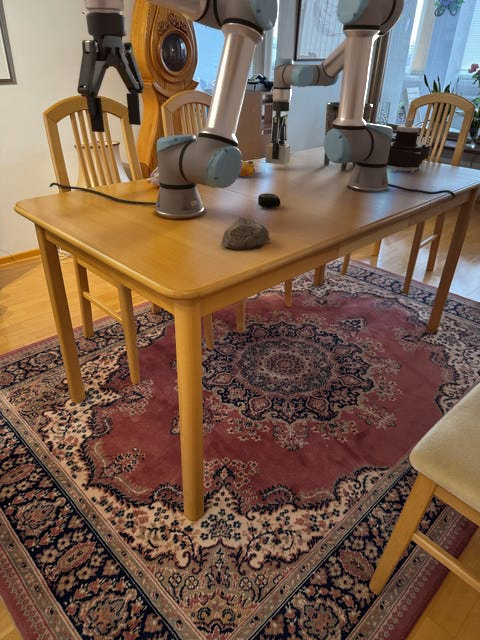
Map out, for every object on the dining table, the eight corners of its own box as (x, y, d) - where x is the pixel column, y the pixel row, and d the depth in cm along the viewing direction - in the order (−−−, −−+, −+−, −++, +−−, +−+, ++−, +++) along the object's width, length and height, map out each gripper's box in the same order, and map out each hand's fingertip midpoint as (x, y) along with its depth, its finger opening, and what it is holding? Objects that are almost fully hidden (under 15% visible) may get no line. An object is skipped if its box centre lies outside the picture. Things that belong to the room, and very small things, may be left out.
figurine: (184, 183, 177) (182, 149, 170) (157, 191, 166) (154, 155, 160) (168, 180, 181) (166, 147, 174) (141, 188, 170) (138, 152, 163)
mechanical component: (376, 119, 196) (405, 114, 216) (368, 169, 207) (396, 160, 227) (425, 124, 184) (451, 118, 204) (414, 176, 195) (439, 166, 215)
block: (270, 159, 207) (271, 143, 203) (289, 161, 204) (290, 144, 200) (265, 162, 201) (266, 145, 197) (284, 164, 198) (285, 147, 195)
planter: (313, 167, 208) (319, 103, 195) (331, 160, 222) (338, 101, 209) (353, 173, 199) (362, 107, 185) (369, 166, 213) (379, 104, 199)
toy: (224, 169, 185) (230, 160, 198) (230, 184, 188) (235, 175, 200) (250, 160, 182) (254, 152, 194) (255, 175, 185) (259, 167, 197)
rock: (255, 233, 128) (256, 211, 124) (276, 242, 122) (278, 219, 119) (217, 244, 120) (217, 220, 117) (239, 254, 115) (239, 230, 111)
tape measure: (259, 210, 148) (260, 198, 147) (256, 204, 154) (256, 193, 152) (280, 209, 149) (281, 198, 147) (275, 203, 155) (276, 192, 153)
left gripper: (125, 17, 101) (135, 120, 112) (44, 7, 81) (65, 133, 92) (154, 17, 99) (161, 122, 109) (78, 6, 79) (96, 136, 89)
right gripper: (280, 98, 199) (277, 153, 211) (265, 101, 183) (262, 160, 195) (296, 99, 197) (292, 154, 208) (282, 102, 181) (278, 162, 192)
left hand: (117, 128), depth 101 cm, fingers open, 13 cm apart
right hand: (277, 157), depth 202 cm, fingers closed on block, 7 cm apart
